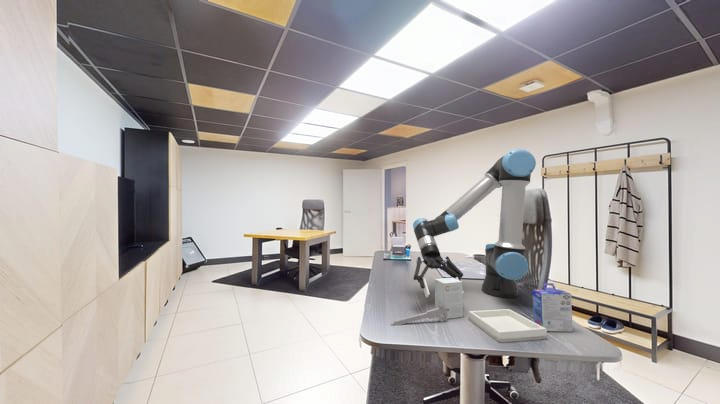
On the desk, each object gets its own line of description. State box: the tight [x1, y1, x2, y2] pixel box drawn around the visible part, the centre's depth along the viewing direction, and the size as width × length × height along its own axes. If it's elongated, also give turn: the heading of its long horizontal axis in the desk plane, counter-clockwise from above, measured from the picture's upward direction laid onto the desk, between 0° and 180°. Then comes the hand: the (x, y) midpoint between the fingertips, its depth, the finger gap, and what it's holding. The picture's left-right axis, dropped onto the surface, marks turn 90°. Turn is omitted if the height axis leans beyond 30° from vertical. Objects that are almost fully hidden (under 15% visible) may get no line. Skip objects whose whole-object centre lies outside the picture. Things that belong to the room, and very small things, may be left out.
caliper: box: [390, 304, 448, 326], centre depth 89 cm, size 20×1×6 cm, turn 99°
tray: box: [468, 308, 548, 344], centre depth 85 cm, size 16×16×3 cm
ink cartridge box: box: [531, 282, 574, 333], centre depth 86 cm, size 10×6×14 cm, turn 89°
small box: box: [434, 277, 464, 320], centre depth 96 cm, size 8×6×13 cm
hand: (445, 295), depth 97 cm, fingers open, 13 cm apart
